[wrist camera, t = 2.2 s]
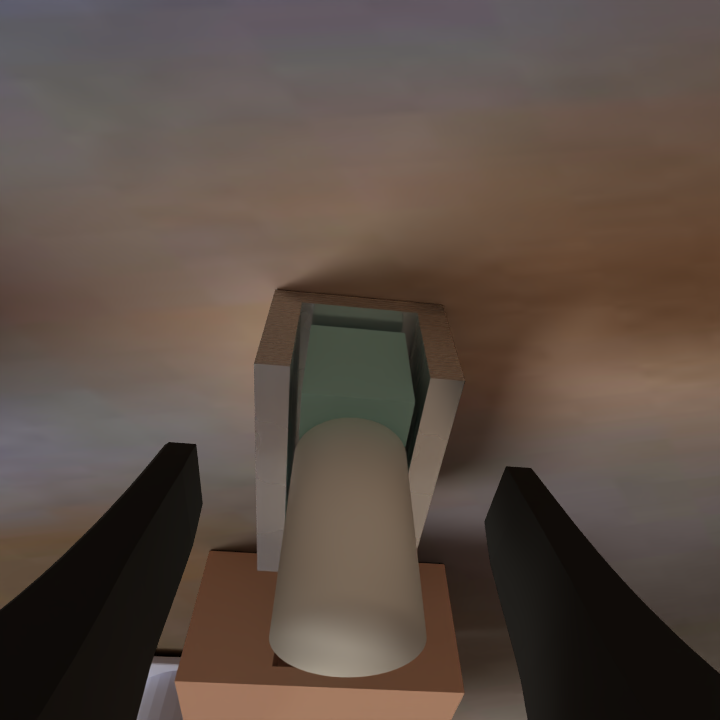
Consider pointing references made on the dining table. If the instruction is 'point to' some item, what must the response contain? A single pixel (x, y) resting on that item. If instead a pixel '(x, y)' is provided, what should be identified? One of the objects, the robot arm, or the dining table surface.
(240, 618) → the socket block
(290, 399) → the grey u-channel
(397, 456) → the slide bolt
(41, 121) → the dining table surface
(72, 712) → the robot arm
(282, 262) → the dining table surface
